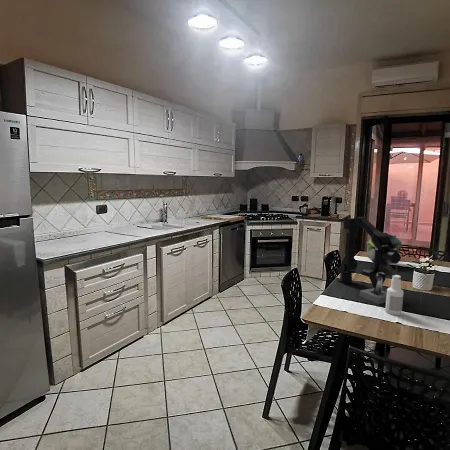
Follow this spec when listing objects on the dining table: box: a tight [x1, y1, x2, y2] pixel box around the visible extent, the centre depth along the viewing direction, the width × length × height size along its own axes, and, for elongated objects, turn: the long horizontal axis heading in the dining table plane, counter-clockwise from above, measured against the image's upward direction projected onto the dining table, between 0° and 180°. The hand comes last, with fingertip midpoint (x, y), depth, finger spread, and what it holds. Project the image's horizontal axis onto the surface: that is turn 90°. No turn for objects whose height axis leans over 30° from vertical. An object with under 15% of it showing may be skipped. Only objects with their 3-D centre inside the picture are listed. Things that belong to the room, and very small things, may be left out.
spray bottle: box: [384, 274, 404, 316], centre depth 146 cm, size 7×7×18 cm
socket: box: [358, 287, 387, 305], centre depth 165 cm, size 12×12×3 cm
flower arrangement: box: [365, 232, 403, 266], centre depth 228 cm, size 25×25×24 cm
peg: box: [372, 275, 383, 292], centre depth 164 cm, size 4×4×8 cm
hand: (377, 287), depth 165 cm, fingers closed on peg, 4 cm apart
